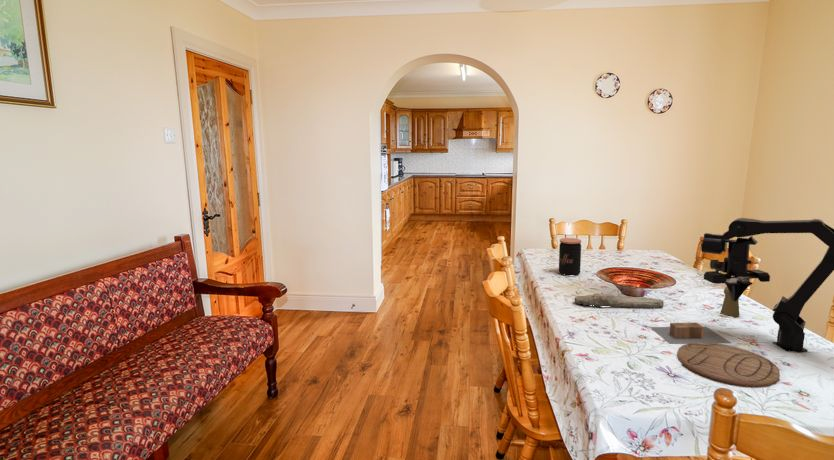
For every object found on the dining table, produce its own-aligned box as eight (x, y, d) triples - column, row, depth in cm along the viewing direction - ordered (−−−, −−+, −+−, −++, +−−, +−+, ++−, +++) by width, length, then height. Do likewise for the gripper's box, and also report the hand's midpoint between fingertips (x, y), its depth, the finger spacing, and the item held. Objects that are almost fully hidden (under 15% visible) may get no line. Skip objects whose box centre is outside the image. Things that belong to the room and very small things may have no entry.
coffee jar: (554, 272, 234) (555, 239, 231) (569, 270, 238) (570, 237, 235) (568, 277, 224) (570, 242, 221) (584, 274, 229) (586, 240, 225)
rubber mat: (731, 344, 146) (732, 343, 145) (669, 344, 146) (669, 343, 146) (706, 327, 159) (706, 326, 159) (649, 328, 160) (649, 327, 160)
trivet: (665, 367, 132) (666, 361, 132) (689, 341, 150) (690, 335, 149) (771, 399, 115) (772, 392, 114) (785, 365, 132) (785, 359, 132)
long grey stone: (667, 314, 177) (658, 307, 187) (669, 301, 176) (659, 294, 186) (576, 307, 182) (572, 300, 192) (577, 294, 181) (573, 288, 191)
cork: (742, 318, 167) (745, 290, 165) (724, 317, 168) (727, 289, 166) (734, 312, 173) (737, 285, 171) (717, 311, 174) (720, 284, 172)
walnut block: (703, 327, 149) (676, 327, 149) (702, 338, 150) (675, 338, 150) (696, 322, 153) (670, 322, 153) (695, 333, 154) (669, 333, 154)
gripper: (748, 249, 156) (744, 292, 158) (695, 252, 156) (692, 294, 158) (773, 257, 145) (769, 302, 147) (716, 259, 145) (712, 305, 147)
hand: (734, 300), depth 150 cm, fingers closed
